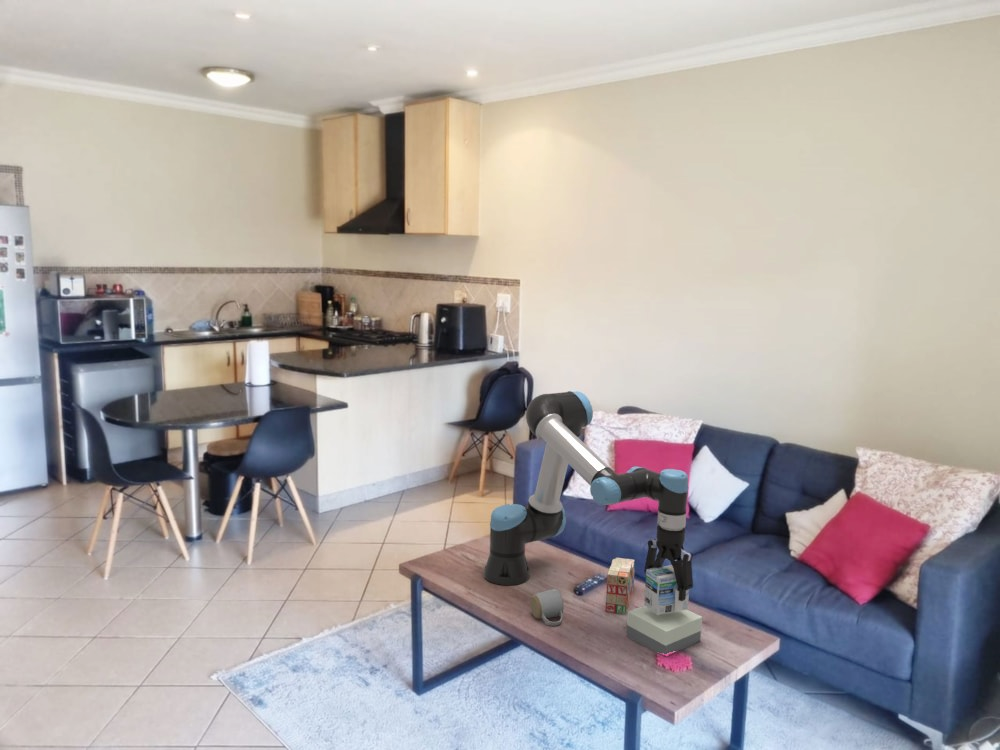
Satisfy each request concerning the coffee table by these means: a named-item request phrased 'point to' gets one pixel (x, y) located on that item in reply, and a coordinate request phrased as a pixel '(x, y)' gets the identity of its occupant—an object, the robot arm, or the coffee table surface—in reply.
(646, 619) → the tower top slab
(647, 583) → the light bulb box
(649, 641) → the tower base slab
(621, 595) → the stack of blocks
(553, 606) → the ceramic mug
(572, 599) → the coffee table surface
